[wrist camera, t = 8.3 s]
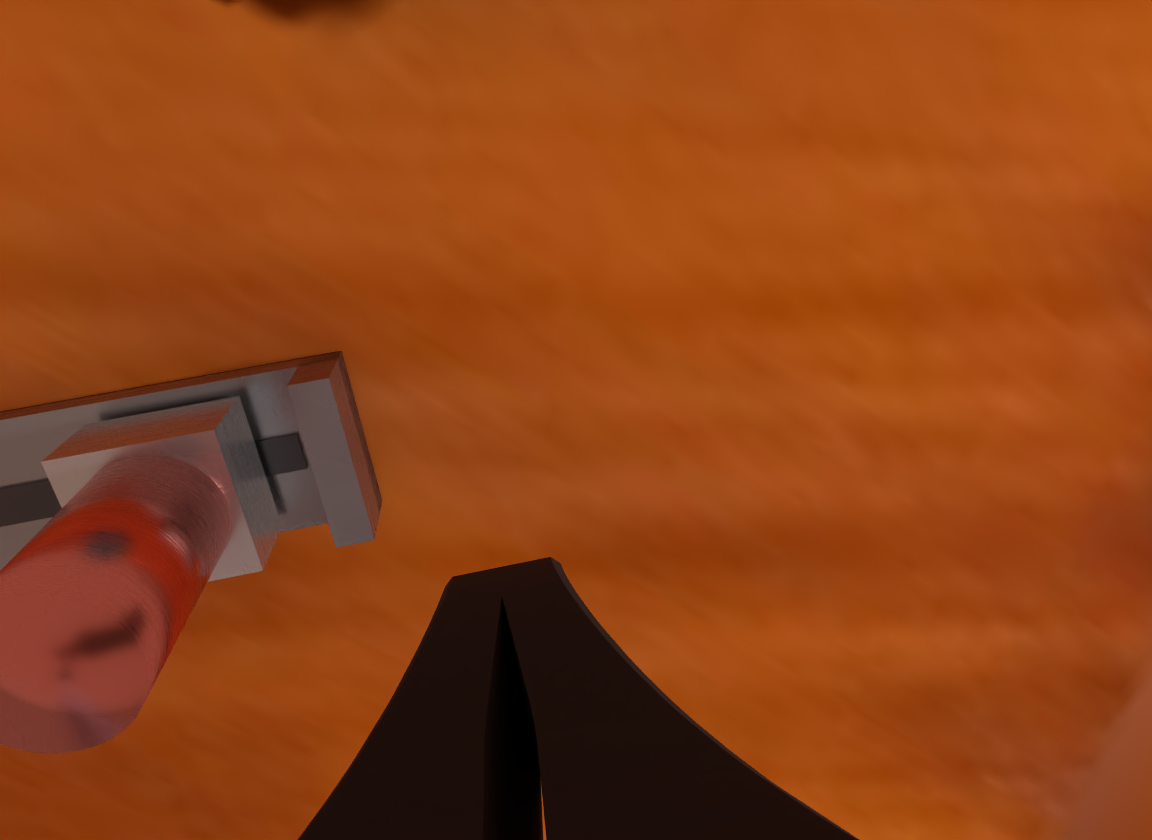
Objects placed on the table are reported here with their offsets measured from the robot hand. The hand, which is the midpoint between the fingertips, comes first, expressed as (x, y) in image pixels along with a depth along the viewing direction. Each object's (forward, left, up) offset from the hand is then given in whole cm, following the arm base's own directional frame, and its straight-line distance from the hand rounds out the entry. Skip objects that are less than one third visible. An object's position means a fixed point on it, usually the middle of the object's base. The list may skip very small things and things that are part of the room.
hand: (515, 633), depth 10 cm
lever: (0, +6, -8) cm, 10 cm away
